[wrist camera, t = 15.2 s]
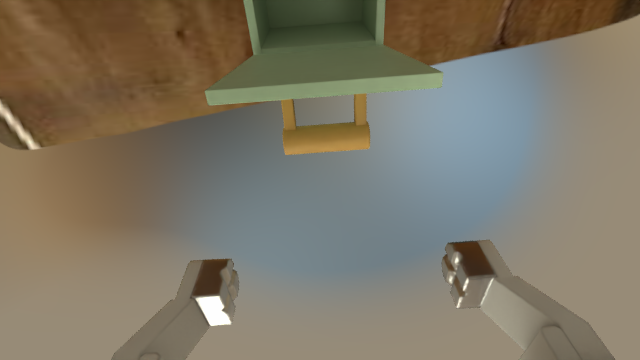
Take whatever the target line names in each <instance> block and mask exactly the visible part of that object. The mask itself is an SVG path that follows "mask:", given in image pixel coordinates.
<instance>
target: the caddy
mask: <svg viewBox="0 0 640 360" xmlns="http://www.w3.org/2000/svg"><path fill="white" fill-rule="evenodd" d="M244 6H245V11H246V16H247V22H248V27H249V32H250V38H251V43H252V48H253V54H254V55H264V54H276V53H289V52H302V51H314V50H327V49H340V48H353V47H365V46H378V45H383V38H384V19H385V0H244Z"/></svg>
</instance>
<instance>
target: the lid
mask: <svg viewBox="0 0 640 360" xmlns="http://www.w3.org/2000/svg"><path fill="white" fill-rule="evenodd" d="M442 79H443V72H441V71H439V70H437V69H435V68H432V67H430V66H428V65H426V64H424V63H422V62H419V61H417V60H415V59H413V58H411V57H409V56H406V55H404V54H402V53H400V52H398V51H396V50H393V49H391V48H389V47H387V46H385V45H378V46H365V47H353V48H340V49H327V50H314V51H302V52H289V53H276V54H264V55H253V56H252V57H250V58H249V59H248V60H246V61H245V62H244V63H242V64H241V65H239V66H238V67H237V68H235V69H234V70H233V71H231V72H230V73H229V74H227V75H226V76H224V77H223V78H222V79H220V80H219V81H218V82H216V83H215V84H214V85H212V86H211V87H209V88H208V89H207V90H205V94H206V98H207V102H208V105H220V104H233V103H246V102H259V101H273V100H281V104H282V111H283V119H284V128H283V145H284V151H285V154H286V155H292V154H305V153H318V152H333V151H346V150H360V149H368V148H369V147H370V129H369V125H368V122H367V121H366V93H377V92H389V91H403V90H416V89H429V88H441V87H442ZM350 94H354V122H350V123H337V124H323V125H311V126H296V120H295V111H294V101H293V99H299V98H311V97H324V96H338V95H350Z"/></svg>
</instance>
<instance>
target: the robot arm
mask: <svg viewBox="0 0 640 360" xmlns="http://www.w3.org/2000/svg"><path fill="white" fill-rule="evenodd" d="M445 251H446V253H447V254H446V255H445V256H444V257H443V259H442V272H443V276H444V278H445V281H446V282H447V283H448V284H449V285H451V286H452V288H451V291H450V293H451V295H452V298H453V300H454V302H455V305H456V307H457V308H481V310H482V311H483V312H484V313H485V314H486V315H487V316H489V317H490V318H491V319H492V320H493V321H494V322H495V323H496V324H497V325H498V326H499V327H500V328H501V329H502V330H503V331H504V332H506V333H507V334H508V335H509V336H510V337H511V338H512V339H513V340H514V341H515V342H516V343H517V344H518V345H520V347H522V348H523V349H524V350H525V352H524V353H523V355H522V356H521V358H520V359H519V360H615V358H614V357H613V356H612V354H611V353H610V352H609V350H608V349H607V348H606V346H605V345H604V343H603V342H602V341H601V339H600V338H599V337H598V335H597V334H596V333H595V331H594V330H593V329H592V327H591V326H590V325H589V323H588V322H586V321H585V320H583V319H582V318H580V317H579V316H577V315H576V314H574V313H573V312H571V311H570V310H568V309H567V308H565V307H564V306H562V305H560V304H559V303H558V302H556V301H555V300H553V299H551V298H550V297H549V296H547V295H546V294H544V293H542V292H541V291H539V290H538V289H536V288H535V287H533V286H532V285H530V284H529V283H527V282H526V281H524V280H523V279H521V278H520V277H518V276H513V275H512V273H511V272H510V270H509V268H508V267H507V265H506V264H505V262H504V260H503V259H502V257H501V256H500V254H499V253H498V251H497V249H496V248H495V246H494V245H493V243H492V242H491V241H490V240H481V241H480V240H479V241H465V242H464V241H463V242H452V243H448V244H447V245H446V247H445ZM233 267H234V263H233V261H232V259H212V260H194V261H190V263H189V264H188V266H187V268H186V271H185V274H184V276H183V279H182V282H181V284H180V287H179V290H178V292H177V296H176V298H175V300H170V301H169V302H168V303H167V304H166V305H165V306H164V307H163V308H162V309H161V310H160V311H159V312H158V313H157V314H155V316H153V317H152V318H151V319H150V320H149V321H148V322H147V323H146V324H145V325H144V326H143V327H142V328H141V329H140V330H139V331H138V332H136V334H134V336H132V337H131V338H130V339H129V340H128V341H127V342H126V343H125V344H124V345H123V346H122V347H121V348H120V349H119V350H117V352H115V353H114V355H113V357H112V359H111V360H185V359H186V358H187V356H188V355H189V354H190V353H191V351H192V350H193V349H194V347H195V346H196V345H197V343H198V342H199V341H200V339H201V338H202V337H203V335H204V334H205V333H206V331H207V330H208V329H209V326H214V325H225V324H232V321H233V317H234V312H235V305H234V302H233V301H234V299H235V298H236V297H237V296H238V290H239V278H238V274H237V272H236V271H235V270H233Z"/></svg>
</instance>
